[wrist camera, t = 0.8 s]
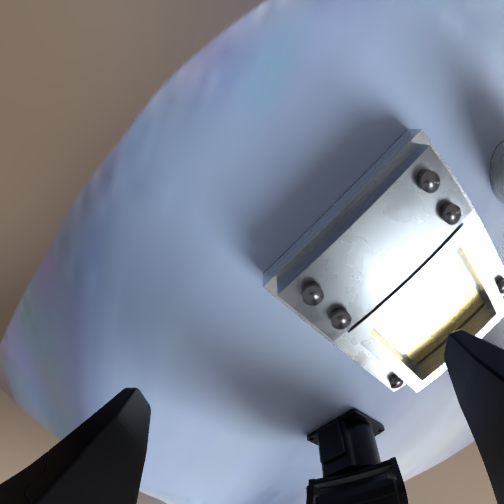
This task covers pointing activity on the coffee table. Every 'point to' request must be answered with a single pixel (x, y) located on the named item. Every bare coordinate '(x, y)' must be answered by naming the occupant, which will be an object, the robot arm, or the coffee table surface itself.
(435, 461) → the coffee table surface
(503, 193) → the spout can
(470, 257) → the gearbox
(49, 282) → the coffee table surface
